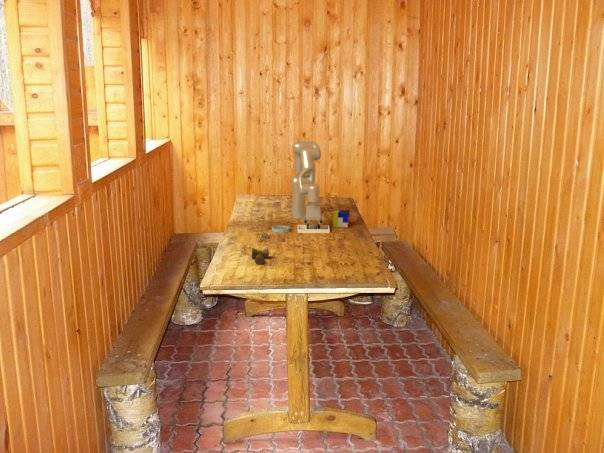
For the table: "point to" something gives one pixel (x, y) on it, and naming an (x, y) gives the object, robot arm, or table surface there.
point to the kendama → (260, 255)
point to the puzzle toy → (341, 218)
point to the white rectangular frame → (313, 229)
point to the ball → (313, 226)
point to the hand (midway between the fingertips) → (313, 229)
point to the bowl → (280, 229)
